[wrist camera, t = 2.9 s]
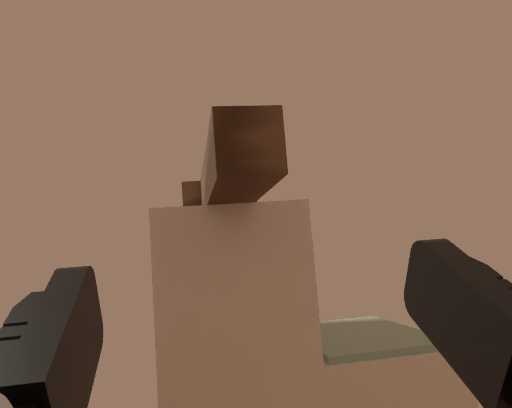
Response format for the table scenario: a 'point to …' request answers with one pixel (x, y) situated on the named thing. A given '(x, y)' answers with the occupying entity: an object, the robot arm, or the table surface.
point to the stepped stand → (273, 321)
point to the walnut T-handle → (240, 156)
